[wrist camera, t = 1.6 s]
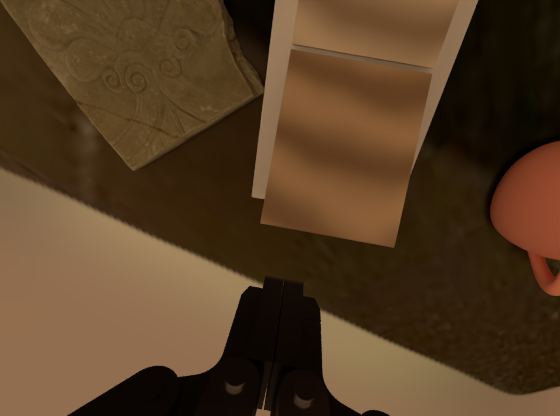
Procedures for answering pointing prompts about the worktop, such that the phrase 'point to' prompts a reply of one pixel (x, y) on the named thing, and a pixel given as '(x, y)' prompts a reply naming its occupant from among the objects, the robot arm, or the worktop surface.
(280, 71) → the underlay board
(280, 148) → the honey oak plank
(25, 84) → the worktop surface
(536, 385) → the worktop surface
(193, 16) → the decorative tile
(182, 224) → the worktop surface
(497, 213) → the teapot
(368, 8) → the light oak plank
